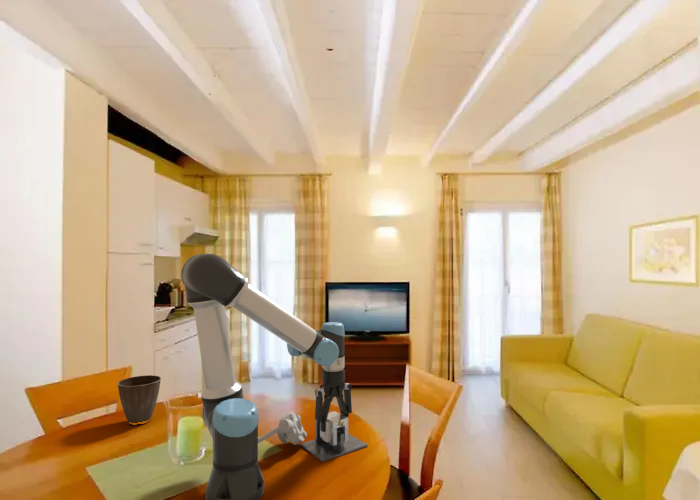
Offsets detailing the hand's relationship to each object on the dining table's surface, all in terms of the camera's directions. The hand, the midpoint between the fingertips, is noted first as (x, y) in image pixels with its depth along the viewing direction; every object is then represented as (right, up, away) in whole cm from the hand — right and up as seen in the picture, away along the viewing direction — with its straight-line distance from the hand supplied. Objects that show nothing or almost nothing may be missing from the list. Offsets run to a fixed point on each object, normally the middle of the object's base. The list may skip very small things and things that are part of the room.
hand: (333, 437), depth 139 cm
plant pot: (-76, -4, +21) cm, 79 cm away
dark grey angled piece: (0, -3, 0) cm, 3 cm away
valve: (-19, -3, -1) cm, 19 cm away
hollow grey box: (0, 0, 0) cm, 0 cm away
